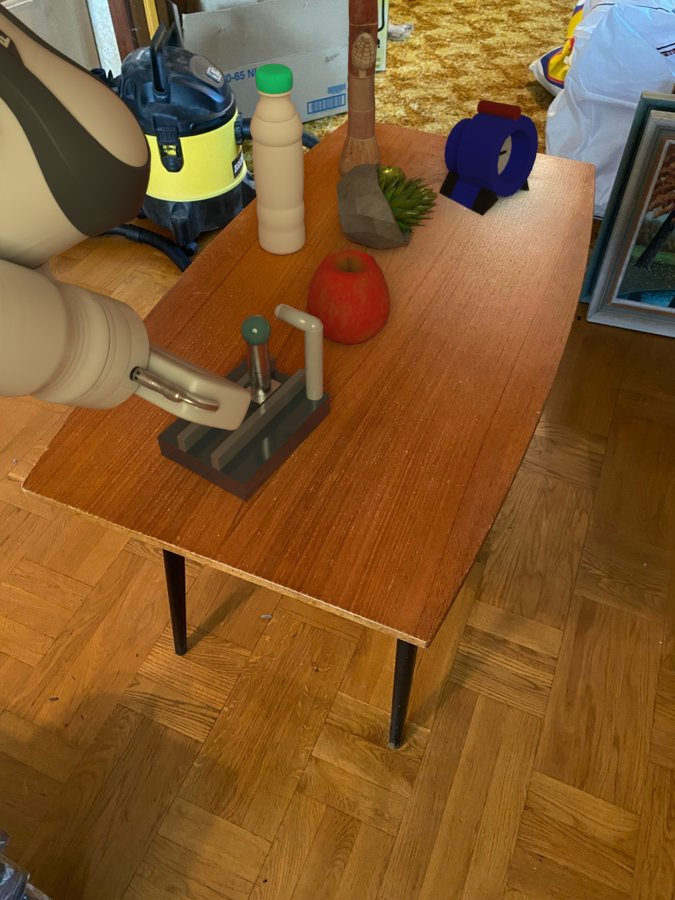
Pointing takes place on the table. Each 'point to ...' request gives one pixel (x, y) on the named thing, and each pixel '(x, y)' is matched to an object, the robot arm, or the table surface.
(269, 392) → the tap handle
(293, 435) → the tap base
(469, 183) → the alarm clock
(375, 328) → the apple
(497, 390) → the table surface
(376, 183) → the potted plant
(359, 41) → the brown carved wooden post
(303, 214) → the water bottle
